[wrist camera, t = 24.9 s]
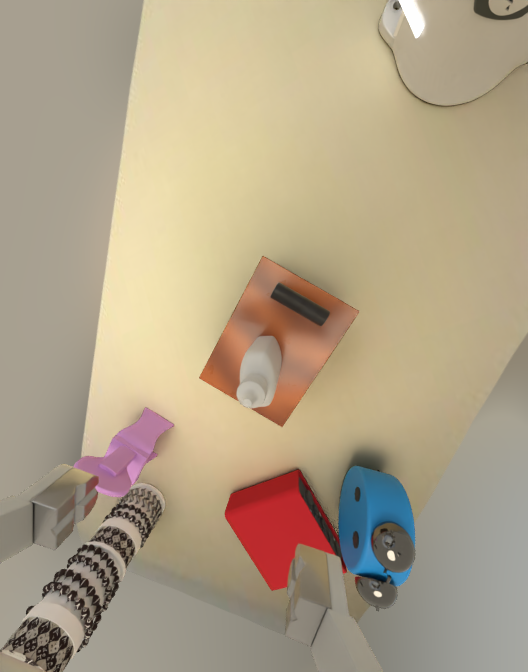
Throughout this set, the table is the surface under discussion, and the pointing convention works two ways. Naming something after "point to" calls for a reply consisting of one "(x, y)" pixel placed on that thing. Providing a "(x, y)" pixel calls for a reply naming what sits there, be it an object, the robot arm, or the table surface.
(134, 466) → the toy chair
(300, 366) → the lid
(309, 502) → the red device housing
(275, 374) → the eye dropper bottle
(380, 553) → the alarm clock
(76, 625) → the decorative candle
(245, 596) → the table surface
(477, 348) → the table surface
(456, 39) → the robot arm
